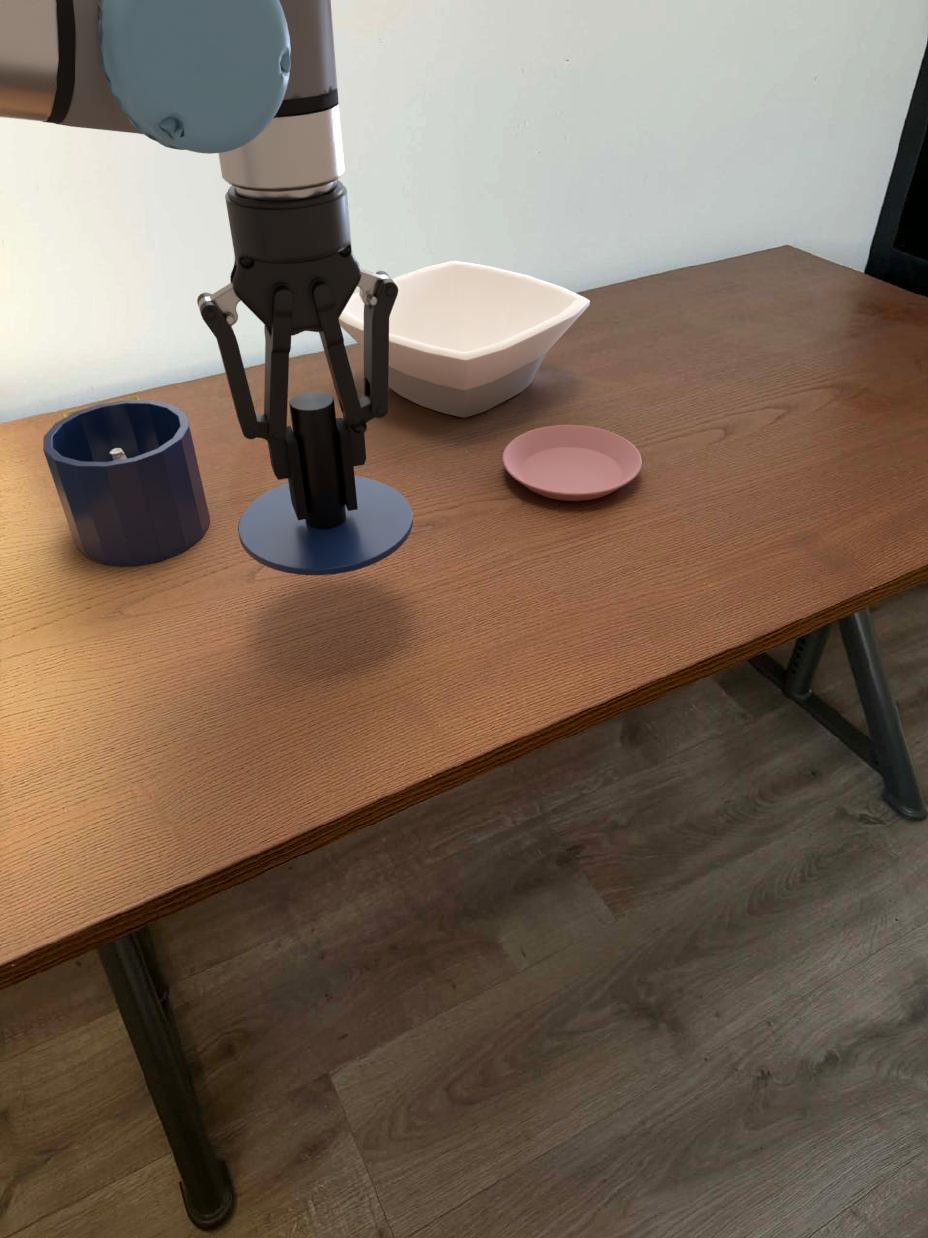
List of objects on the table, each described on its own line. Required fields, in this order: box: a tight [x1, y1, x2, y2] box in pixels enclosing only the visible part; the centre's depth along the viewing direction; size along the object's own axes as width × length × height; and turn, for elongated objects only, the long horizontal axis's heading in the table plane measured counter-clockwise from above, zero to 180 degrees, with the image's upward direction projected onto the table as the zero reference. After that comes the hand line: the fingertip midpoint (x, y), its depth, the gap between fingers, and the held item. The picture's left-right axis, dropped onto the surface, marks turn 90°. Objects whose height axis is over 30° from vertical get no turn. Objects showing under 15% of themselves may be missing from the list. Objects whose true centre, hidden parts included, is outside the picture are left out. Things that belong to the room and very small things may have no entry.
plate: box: [501, 424, 643, 502], centre depth 97 cm, size 14×14×2 cm
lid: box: [237, 390, 414, 576], centre depth 70 cm, size 14×14×11 cm
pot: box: [42, 399, 211, 567], centre depth 87 cm, size 13×13×10 cm
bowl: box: [339, 260, 591, 419], centre depth 111 cm, size 24×25×10 cm
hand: (324, 505), depth 73 cm, fingers closed on lid, 3 cm apart
